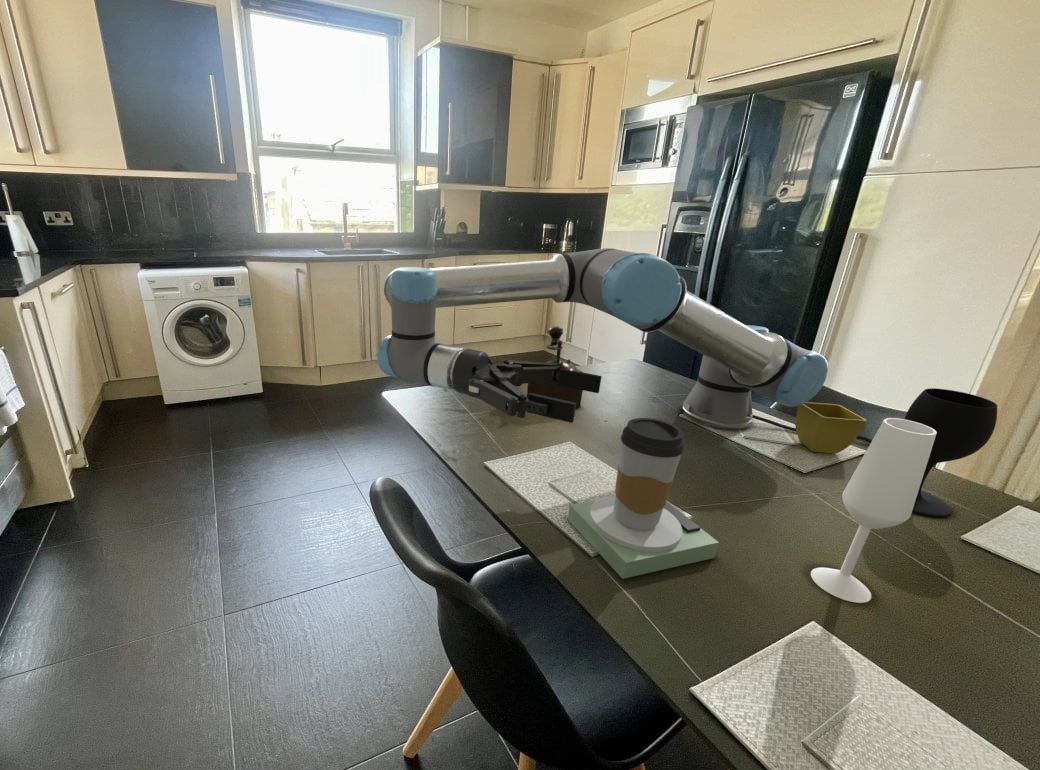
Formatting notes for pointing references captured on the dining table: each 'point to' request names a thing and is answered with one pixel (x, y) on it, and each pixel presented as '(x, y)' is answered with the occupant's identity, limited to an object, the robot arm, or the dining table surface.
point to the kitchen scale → (641, 538)
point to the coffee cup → (646, 471)
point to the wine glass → (950, 434)
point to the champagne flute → (880, 496)
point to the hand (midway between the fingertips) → (588, 397)
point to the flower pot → (827, 427)
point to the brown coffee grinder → (552, 388)
